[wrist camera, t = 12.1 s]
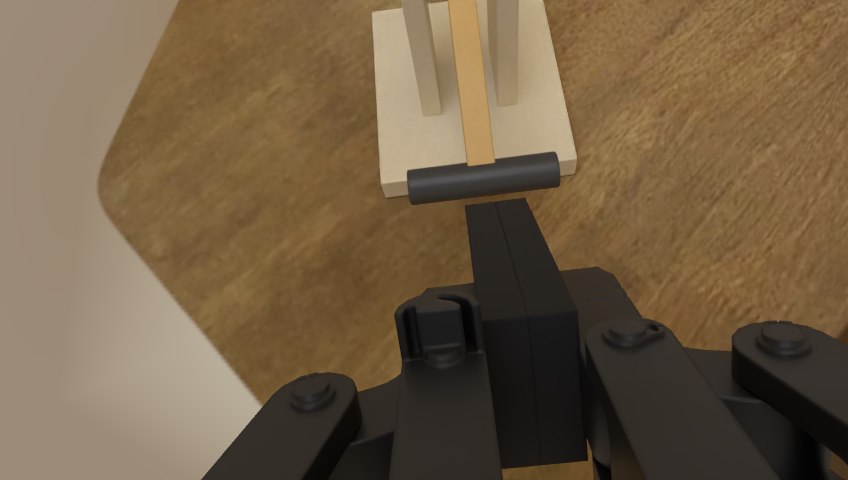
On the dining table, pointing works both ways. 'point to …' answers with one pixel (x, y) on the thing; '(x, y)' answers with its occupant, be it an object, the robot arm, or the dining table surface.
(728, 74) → the dining table surface
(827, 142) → the dining table surface
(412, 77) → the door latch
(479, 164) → the latch lever
